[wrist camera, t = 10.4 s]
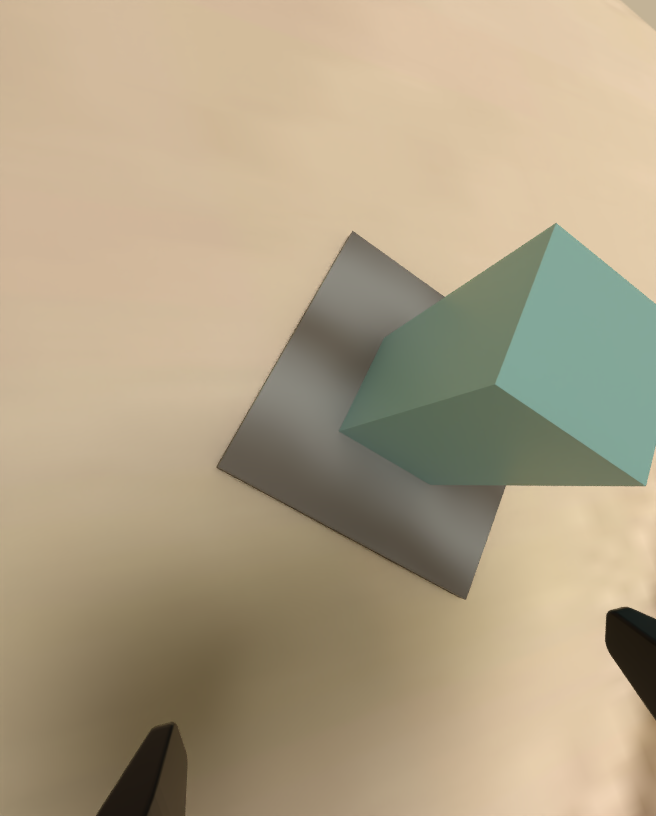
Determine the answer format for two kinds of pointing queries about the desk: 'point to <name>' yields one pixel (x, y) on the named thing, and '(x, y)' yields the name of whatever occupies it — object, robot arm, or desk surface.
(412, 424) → the teal rectangular pillar
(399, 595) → the desk surface
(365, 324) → the flat grey base tile
